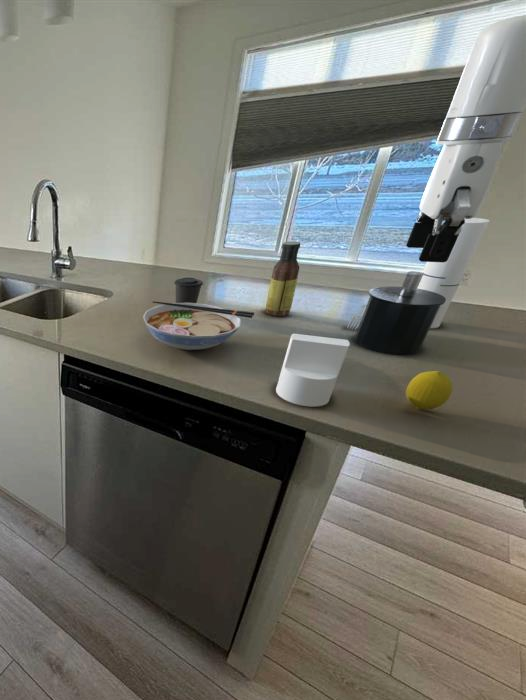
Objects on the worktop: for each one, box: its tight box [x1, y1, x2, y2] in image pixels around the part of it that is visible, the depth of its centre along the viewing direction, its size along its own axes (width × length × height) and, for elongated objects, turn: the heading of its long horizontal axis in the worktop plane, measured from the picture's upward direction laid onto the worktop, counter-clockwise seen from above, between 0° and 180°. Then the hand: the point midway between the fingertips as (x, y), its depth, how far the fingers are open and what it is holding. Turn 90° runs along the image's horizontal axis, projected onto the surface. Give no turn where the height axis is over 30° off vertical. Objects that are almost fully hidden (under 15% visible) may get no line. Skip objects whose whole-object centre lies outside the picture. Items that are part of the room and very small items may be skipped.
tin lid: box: [368, 270, 446, 307], centre depth 89 cm, size 13×13×6 cm
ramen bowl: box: [142, 300, 255, 351], centre depth 102 cm, size 25×23×8 cm
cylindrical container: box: [417, 217, 490, 329], centre depth 98 cm, size 7×7×25 cm
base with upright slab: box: [275, 333, 351, 408], centre depth 78 cm, size 9×9×12 cm
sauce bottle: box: [265, 240, 301, 317], centre depth 112 cm, size 7×6×20 cm
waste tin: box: [354, 295, 441, 356], centre depth 93 cm, size 12×12×12 cm
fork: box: [346, 304, 367, 331], centre depth 110 cm, size 3×21×3 cm, turn 132°
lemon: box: [405, 370, 453, 411], centre depth 72 cm, size 6×6×8 cm
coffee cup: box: [173, 277, 204, 303], centre depth 122 cm, size 8×8×10 cm
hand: (424, 254), depth 66 cm, fingers open, 9 cm apart
